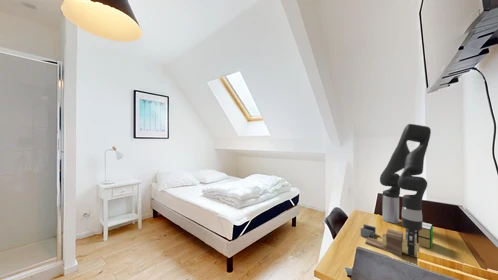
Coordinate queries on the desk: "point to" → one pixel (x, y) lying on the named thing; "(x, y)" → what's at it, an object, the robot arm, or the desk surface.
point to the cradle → (368, 231)
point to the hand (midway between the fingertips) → (411, 252)
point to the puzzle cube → (425, 235)
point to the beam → (389, 242)
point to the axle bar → (404, 245)
